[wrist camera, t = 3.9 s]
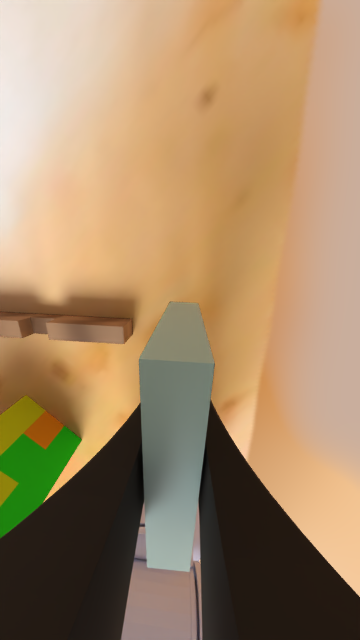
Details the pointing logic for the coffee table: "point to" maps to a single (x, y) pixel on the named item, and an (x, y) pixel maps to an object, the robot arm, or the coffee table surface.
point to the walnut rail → (66, 327)
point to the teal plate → (174, 432)
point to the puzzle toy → (30, 459)
